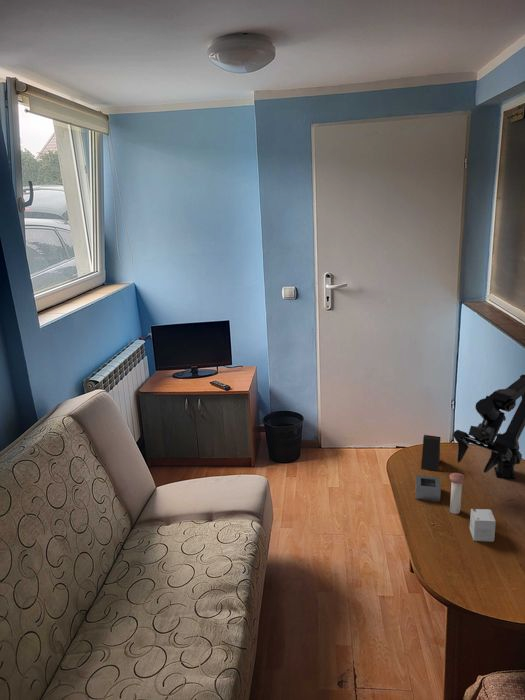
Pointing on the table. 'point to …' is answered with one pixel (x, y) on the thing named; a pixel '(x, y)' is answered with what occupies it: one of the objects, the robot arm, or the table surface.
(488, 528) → the skincare box
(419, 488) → the block
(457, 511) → the pin
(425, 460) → the phone stand
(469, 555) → the table surface
